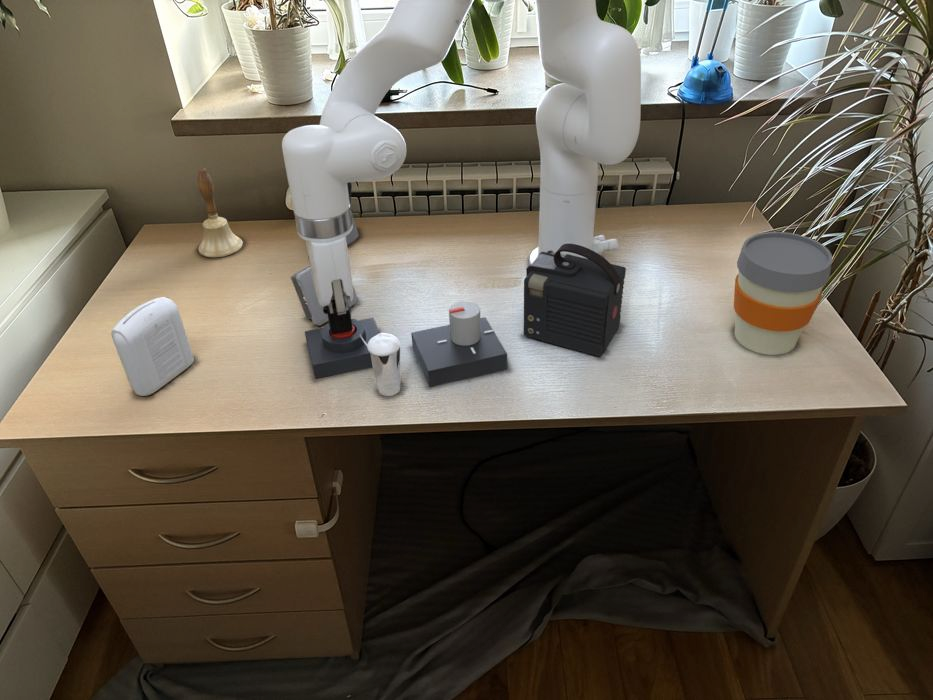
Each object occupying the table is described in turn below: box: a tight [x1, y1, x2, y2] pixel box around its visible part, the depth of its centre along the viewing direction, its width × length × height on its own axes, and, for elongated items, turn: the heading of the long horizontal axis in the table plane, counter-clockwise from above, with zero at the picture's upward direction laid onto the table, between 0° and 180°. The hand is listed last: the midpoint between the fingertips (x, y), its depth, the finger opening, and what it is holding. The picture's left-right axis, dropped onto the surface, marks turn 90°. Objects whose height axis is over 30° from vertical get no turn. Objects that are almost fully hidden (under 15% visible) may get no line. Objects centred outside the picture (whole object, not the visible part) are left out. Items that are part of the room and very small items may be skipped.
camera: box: [523, 244, 627, 357], centre depth 114 cm, size 11×14×15 cm
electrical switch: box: [290, 265, 358, 327], centre depth 123 cm, size 9×5×9 cm, turn 141°
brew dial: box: [448, 300, 481, 346], centre depth 111 cm, size 5×5×5 cm
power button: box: [331, 325, 355, 339], centre depth 113 cm, size 4×4×2 cm
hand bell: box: [197, 167, 244, 258], centre depth 139 cm, size 8×8×16 cm
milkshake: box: [360, 332, 402, 397], centre depth 105 cm, size 4×5×10 cm
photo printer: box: [110, 296, 195, 397], centre depth 109 cm, size 10×4×12 cm, turn 152°
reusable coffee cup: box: [733, 231, 833, 356], centre depth 110 cm, size 13×13×15 cm
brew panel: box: [410, 316, 508, 388], centre depth 113 cm, size 12×10×3 cm
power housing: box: [304, 317, 381, 380], centre depth 114 cm, size 11×9×4 cm
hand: (341, 329), depth 112 cm, fingers closed
